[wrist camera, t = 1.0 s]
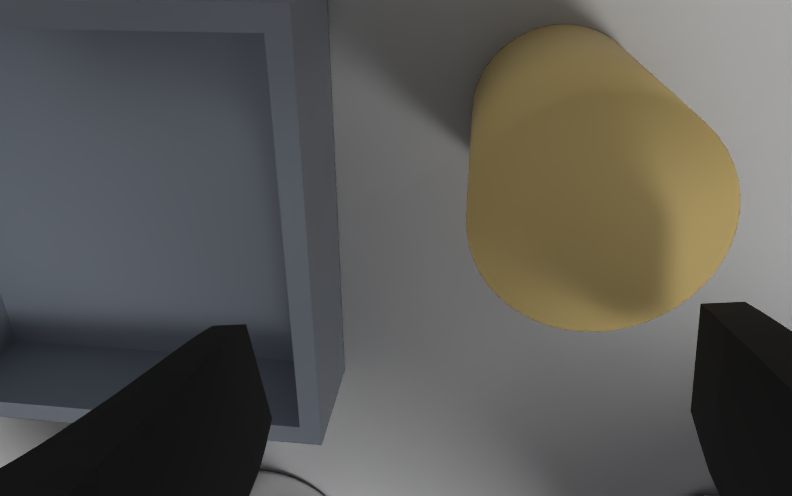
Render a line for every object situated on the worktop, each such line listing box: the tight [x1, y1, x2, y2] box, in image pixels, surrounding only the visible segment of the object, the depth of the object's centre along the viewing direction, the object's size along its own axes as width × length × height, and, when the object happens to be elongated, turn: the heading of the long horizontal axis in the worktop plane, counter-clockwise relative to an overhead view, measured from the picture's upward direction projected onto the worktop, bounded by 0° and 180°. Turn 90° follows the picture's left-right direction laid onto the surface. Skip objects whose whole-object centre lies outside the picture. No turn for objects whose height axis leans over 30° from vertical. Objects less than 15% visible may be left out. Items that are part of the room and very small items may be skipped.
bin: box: [0, 0, 345, 445], centre depth 18 cm, size 12×12×4 cm
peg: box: [466, 24, 740, 332], centre depth 14 cm, size 4×4×7 cm
